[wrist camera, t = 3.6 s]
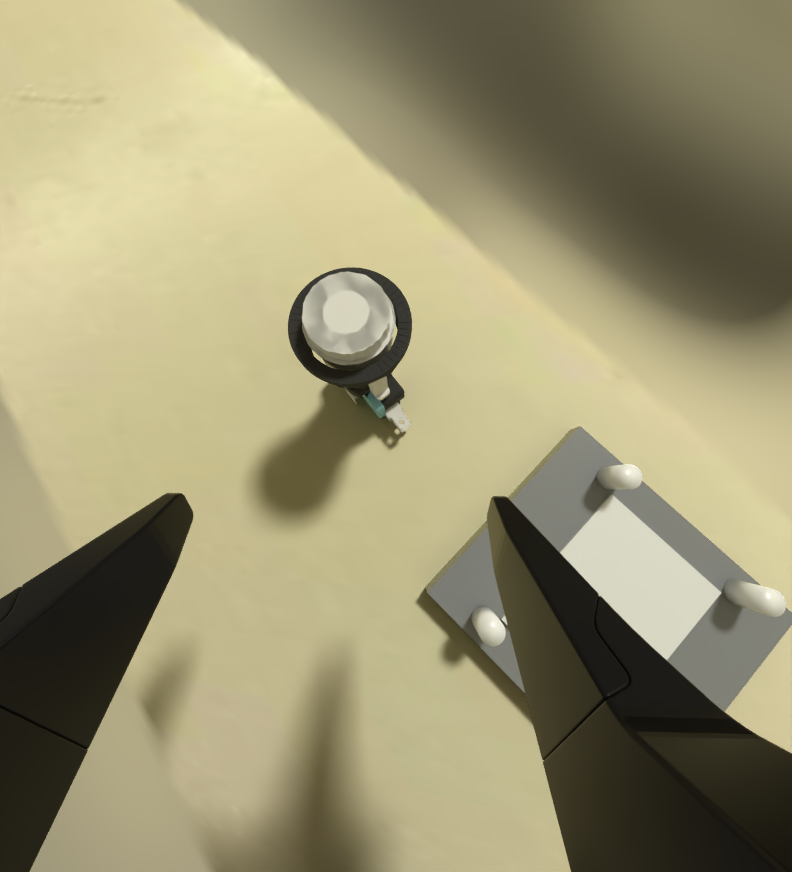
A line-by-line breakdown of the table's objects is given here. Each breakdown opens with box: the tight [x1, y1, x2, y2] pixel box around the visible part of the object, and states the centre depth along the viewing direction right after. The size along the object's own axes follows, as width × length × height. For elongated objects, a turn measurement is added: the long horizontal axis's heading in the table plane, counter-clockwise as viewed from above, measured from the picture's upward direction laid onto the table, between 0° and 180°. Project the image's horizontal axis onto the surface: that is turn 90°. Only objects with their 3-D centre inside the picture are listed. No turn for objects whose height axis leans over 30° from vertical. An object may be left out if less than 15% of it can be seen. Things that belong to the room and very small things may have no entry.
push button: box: [288, 268, 412, 432], centre depth 19 cm, size 7×5×10 cm
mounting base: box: [426, 427, 792, 712], centre depth 20 cm, size 14×16×3 cm
